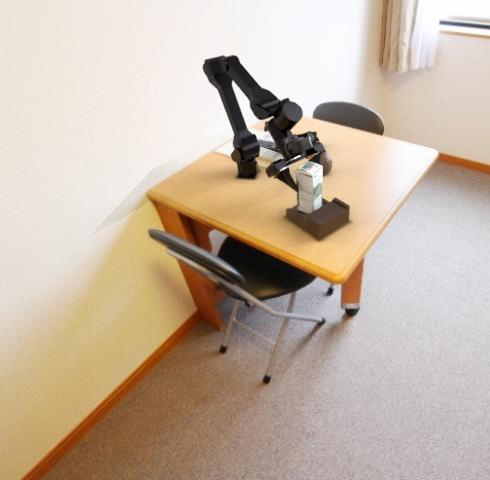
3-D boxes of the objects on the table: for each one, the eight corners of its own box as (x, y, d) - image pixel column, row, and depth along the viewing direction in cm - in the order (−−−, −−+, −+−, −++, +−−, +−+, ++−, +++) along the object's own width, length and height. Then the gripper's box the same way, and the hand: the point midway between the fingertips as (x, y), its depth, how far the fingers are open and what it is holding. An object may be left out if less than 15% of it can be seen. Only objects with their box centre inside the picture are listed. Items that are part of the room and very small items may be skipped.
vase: (330, 178, 125) (331, 156, 119) (311, 176, 126) (311, 154, 120) (333, 168, 130) (334, 146, 124) (315, 167, 131) (315, 145, 125)
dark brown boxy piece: (286, 217, 109) (284, 201, 105) (315, 200, 115) (315, 185, 111) (319, 240, 101) (319, 224, 97) (348, 221, 107) (349, 205, 103)
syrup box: (306, 200, 111) (305, 159, 101) (323, 206, 109) (322, 164, 99) (297, 210, 107) (294, 168, 98) (313, 216, 105) (312, 174, 95)
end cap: (314, 144, 145) (314, 128, 140) (320, 152, 140) (320, 136, 135) (291, 148, 142) (290, 132, 138) (296, 156, 137) (295, 140, 133)
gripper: (267, 135, 89) (297, 189, 91) (320, 114, 99) (347, 163, 100) (253, 152, 99) (280, 201, 100) (302, 132, 108) (327, 176, 110)
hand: (310, 185), depth 102 cm, fingers open, 9 cm apart
